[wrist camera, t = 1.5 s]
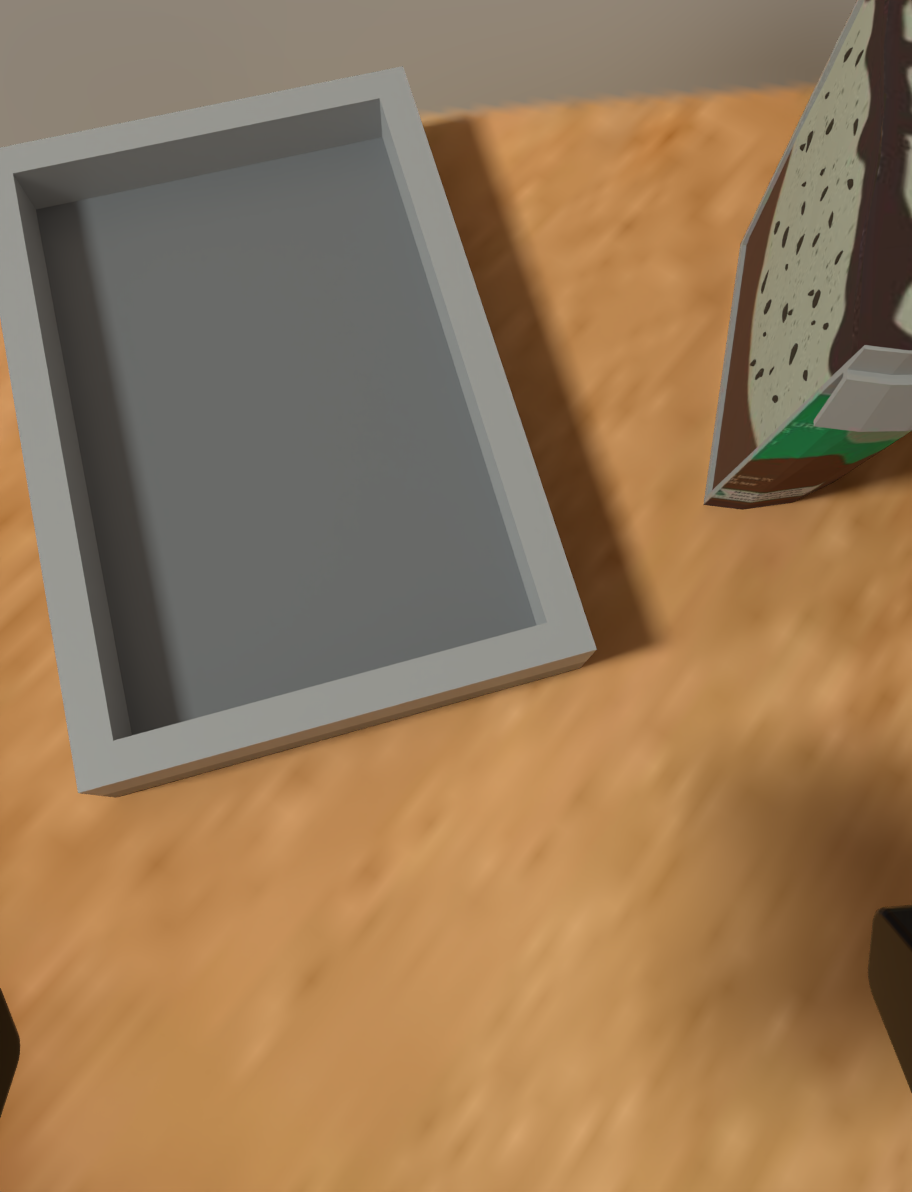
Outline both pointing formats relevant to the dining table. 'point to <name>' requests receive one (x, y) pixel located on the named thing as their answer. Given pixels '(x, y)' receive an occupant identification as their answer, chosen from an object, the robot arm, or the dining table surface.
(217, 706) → the dock
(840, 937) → the dining table surface
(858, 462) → the food container
